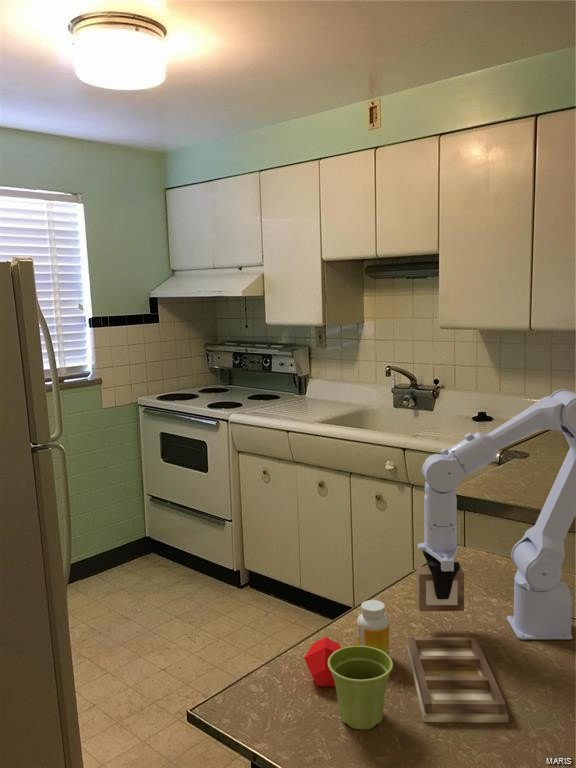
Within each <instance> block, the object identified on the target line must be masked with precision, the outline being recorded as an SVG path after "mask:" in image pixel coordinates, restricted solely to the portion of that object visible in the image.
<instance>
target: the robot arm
mask: <svg viewBox="0 0 576 768" xmlns="http://www.w3.org/2000/svg"><path fill="white" fill-rule="evenodd" d="M538 430H550V431H561V432H562V434H563V435H564V438H565V440H566V442H567V444H568V446H569V449H568V451H567V454H566V456H565V458H564V460H563V462H562V465H561V467H560V469H559V470H558V473H557V475H556V478H555V479H554V482H553V484H552V487H551V489H550V492H548V496H547V498H546V500H545V502H544V505H543V506H542V508H541V511H540V513H539V514H538V518H537V520H536V522H535V524H534V525H533V526H532V527H530V528H528V529H527V530H526V531H525V532H524V535H523V537H522V538H521V539H519V541H517V542H516V543H515V544H514V546H513V548H512V549H511V553H510V557H511V561H512V563H513V565H514V566H515V567H516V568H517V569H516V573H515V575H514V578H513V579H514V580H513V581H514V584H513V585H514V586H513V587H514V589H513V615H507V616H506V620H507V621H508V623H509V626H510V627H511V628H512V630H513V632H514V634H515V636H516V637H517V639H518V640H572V639H573V635H572V617H573V616H572V615H573V614H572V613H573V612H572V611H573V610H572V609H573V603H572V602H573V601H572V596H571V595H572V594H571V591H570V588H569V586H568V584H567V583H566V582H565V581H561V580H562V575H563V570H562V569H563V567H562V565H563V562H564V559H565V557H566V554H565V553H566V552H565V539H566V536H567V534H568V532H569V530H570V528H571V526H572V524H573V521H574V519H575V517H576V392H574V391H573V390H571V389H566V388H564V389H558V390H556V391H554V392H552V393H551V394H550V395H547V396H544V397H540V399H539V400H537V401H536V402H535V403H533V404H532V405H530V406H529V407H527V408H526V409H524V410H523V411H521V412H520V413H518V414H516V415H515V416H513V417H512V418H511V419H509V420H507V421H505V422H504V423H502V424H500V425H499V426H498V427H496V428H494V429H493V430H492V431H490V432H489V433H484V432H478V431H477V432H475V433H474V434H472V432H468V433H466V434H465V435H464V437H463V438H464V439H462V440H461V441H459V442H457V443H456V444H454V445H452V446H450V448H447V447H444V448H442V449H441V453H433V454H431V455H429V456H428V457H426V459H425V460H424V462H423V464H422V467H421V468H420V471H421V474H422V477H423V478H424V479H425V482H424V496H423V499H424V500H423V503H424V505H423V508H424V509H423V511H424V512H423V515H424V517H423V520H424V521H423V522H424V528H423V529H424V530H423V531H424V534H423V535H424V537H423V539H424V542H420V543H419V542H418V543H417V549H418V550H419V551H422V554H423V556H424V558H425V560H426V564H427V566H428V567H429V569H430V571H431V573H432V577H433V582H434V589H435V594H436V597H437V599H449V596H450V592H451V588H452V584H453V580H454V578H455V576H456V574H457V572H458V571H459V569H460V567H461V564H460V563H459V561H454V560H455V558H456V555H457V553H458V551H459V550H458V549H459V545H458V542H457V541H458V540H457V538H458V537H457V536H458V531H457V530H458V526H457V524H458V523H457V522H458V521H457V520H458V519H457V518H458V513H457V510H458V507H457V506H458V505H457V503H458V497H457V488H458V486H459V485H460V483H461V480H462V479H463V478H466V477H468V476H470V475H471V474H473V473H475V472H477V471H479V470H481V469H482V468H483V467H485V466H487V465H489V464H491V463H492V462H494V461H495V460H496V458H497V455H498V452H499V450H501V449H503V448H505V447H507V446H509V445H511V444H513V443H515V442H517V441H519V440H521V439H522V438H525V437H527V436H529V435H531V434H533V433H534V432H536V431H538Z"/></svg>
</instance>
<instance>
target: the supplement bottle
mask: <svg viewBox="0 0 576 768" xmlns="http://www.w3.org/2000/svg"><path fill="white" fill-rule="evenodd" d="M356 620H357V621H356V646H369V647H373V648H377V649H380V650H382V651H383V652H385V653H386V654H388V655H389V656H390V621H389V618H388V617H387V615H386V605H385V603H384V602H383V601H380V600H376V599H369V600H368V599H367V600H365V601H363V602H362V603H361V605H360V614H359V615H358V617H357V619H356Z"/></svg>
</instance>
